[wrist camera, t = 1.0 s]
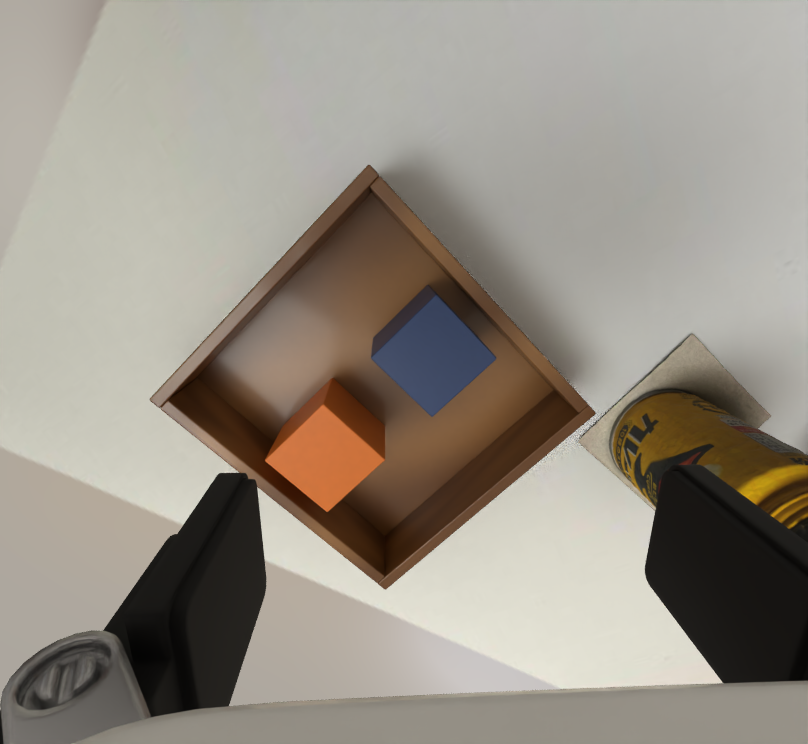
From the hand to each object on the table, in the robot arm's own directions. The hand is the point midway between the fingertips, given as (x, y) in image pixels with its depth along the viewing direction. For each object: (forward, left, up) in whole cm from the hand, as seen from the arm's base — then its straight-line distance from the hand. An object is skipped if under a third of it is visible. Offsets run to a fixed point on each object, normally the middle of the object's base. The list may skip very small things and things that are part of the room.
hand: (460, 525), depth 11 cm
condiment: (+14, +8, -15) cm, 22 cm away
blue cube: (0, +1, -15) cm, 15 cm away
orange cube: (0, -6, -15) cm, 16 cm away
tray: (0, -2, -15) cm, 15 cm away
